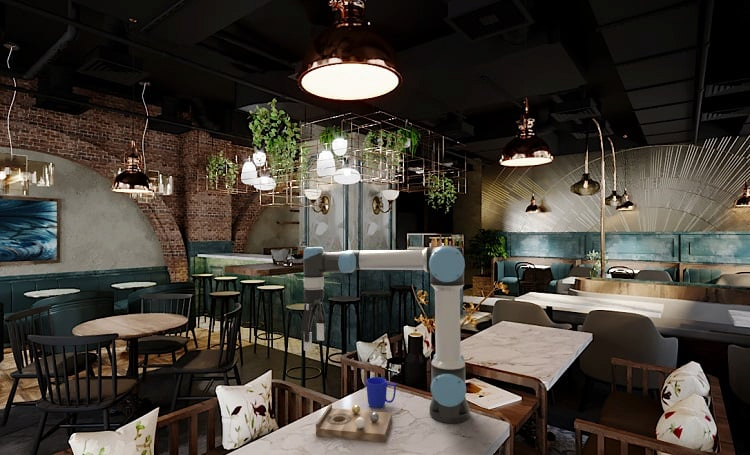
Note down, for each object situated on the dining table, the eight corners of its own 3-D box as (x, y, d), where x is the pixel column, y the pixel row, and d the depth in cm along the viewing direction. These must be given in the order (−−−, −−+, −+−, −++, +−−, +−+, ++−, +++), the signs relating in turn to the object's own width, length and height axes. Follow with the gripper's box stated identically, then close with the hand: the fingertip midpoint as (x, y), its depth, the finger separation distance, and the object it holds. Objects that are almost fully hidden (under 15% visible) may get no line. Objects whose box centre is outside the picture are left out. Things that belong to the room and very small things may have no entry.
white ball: (366, 426, 139) (366, 415, 139) (364, 430, 136) (363, 420, 136) (356, 425, 140) (356, 415, 140) (354, 430, 136) (353, 419, 137)
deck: (391, 419, 149) (391, 408, 149) (384, 441, 133) (384, 429, 133) (330, 414, 154) (330, 404, 154) (316, 435, 138) (315, 424, 138)
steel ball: (379, 420, 143) (379, 411, 143) (378, 424, 140) (378, 415, 140) (371, 419, 144) (370, 410, 144) (369, 423, 141) (369, 414, 141)
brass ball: (360, 412, 150) (360, 404, 150) (359, 415, 147) (359, 407, 147) (353, 411, 151) (353, 403, 151) (351, 415, 148) (351, 407, 148)
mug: (394, 411, 156) (394, 385, 156) (364, 409, 158) (364, 383, 158) (397, 402, 164) (397, 378, 164) (368, 400, 166) (368, 376, 166)
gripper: (315, 283, 163) (316, 336, 163) (290, 293, 138) (291, 354, 138) (333, 284, 161) (334, 336, 161) (311, 293, 137) (312, 355, 137)
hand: (314, 345), depth 150 cm, fingers open, 13 cm apart
